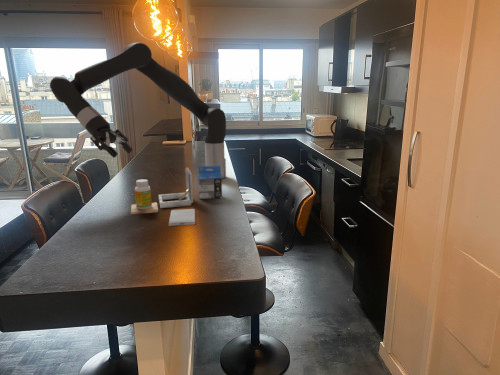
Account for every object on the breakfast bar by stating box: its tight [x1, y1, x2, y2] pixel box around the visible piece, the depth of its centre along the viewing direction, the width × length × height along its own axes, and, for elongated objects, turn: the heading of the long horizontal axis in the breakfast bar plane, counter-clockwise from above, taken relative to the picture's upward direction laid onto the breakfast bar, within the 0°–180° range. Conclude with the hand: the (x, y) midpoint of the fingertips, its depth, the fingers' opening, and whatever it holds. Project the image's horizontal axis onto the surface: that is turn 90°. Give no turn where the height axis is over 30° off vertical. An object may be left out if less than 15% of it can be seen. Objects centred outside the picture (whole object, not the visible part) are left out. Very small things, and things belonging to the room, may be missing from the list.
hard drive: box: [168, 208, 196, 227], centre depth 116 cm, size 2×8×12 cm
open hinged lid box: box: [158, 167, 194, 209], centre depth 131 cm, size 12×11×12 cm
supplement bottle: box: [134, 178, 153, 209], centre depth 123 cm, size 5×5×10 cm
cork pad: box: [130, 201, 159, 215], centre depth 124 cm, size 9×9×1 cm
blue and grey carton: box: [197, 165, 223, 200], centre depth 137 cm, size 9×4×12 cm, turn 99°
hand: (123, 153), depth 128 cm, fingers open, 8 cm apart
